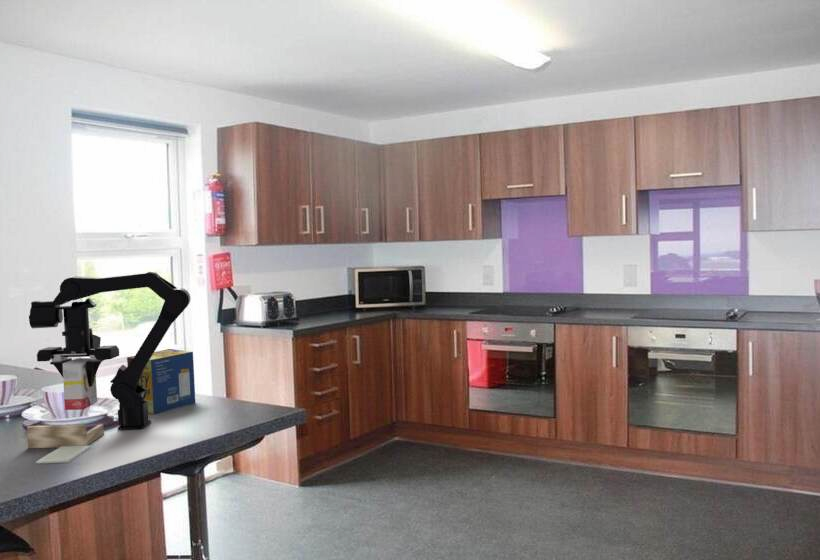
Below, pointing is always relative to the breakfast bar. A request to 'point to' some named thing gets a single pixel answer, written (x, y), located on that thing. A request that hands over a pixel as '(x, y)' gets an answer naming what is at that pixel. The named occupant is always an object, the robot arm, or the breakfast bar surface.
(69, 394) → the ink box
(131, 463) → the breakfast bar surface
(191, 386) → the protein box
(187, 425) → the breakfast bar surface
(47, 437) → the shelf bay
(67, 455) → the coaster pad
